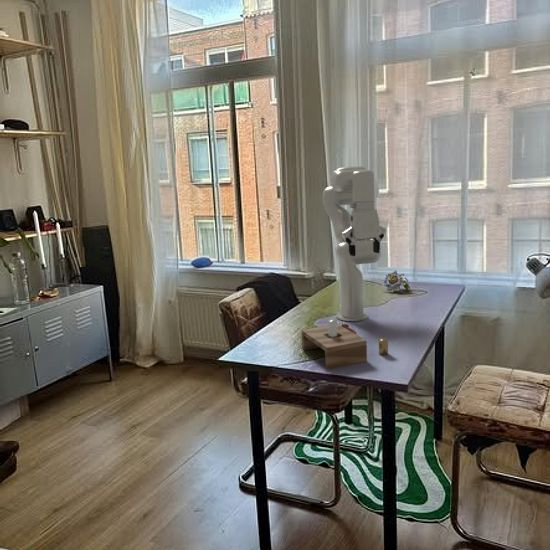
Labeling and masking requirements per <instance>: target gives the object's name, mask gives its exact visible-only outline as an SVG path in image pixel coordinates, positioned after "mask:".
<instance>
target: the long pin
mask: <svg viewBox="0 0 550 550" xmlns="http://www.w3.org/2000/svg"><path fill="white" fill-rule="evenodd" d="M337 321H338V320H337V319H331V318H330V319H328V320H327V326H328V338H335V337H337Z"/></svg>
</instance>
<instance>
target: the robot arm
mask: <svg viewBox="0 0 550 550" xmlns="http://www.w3.org/2000/svg"><path fill="white" fill-rule="evenodd" d="M330 180H331V182H330V183H331V186H328V187H326V188H324V190H323V192H322V204H323V208H324V210H325V212H326V214H327V216H328V217H329V219H330V220H331V223H332V227H333V232H334V236H335V239H336V241H337V243H338V244H337V246H336V248H335V253H336V254H335V255H336V260H337V266H338V277H339V278H338V280H339V281H338V282H339V283H338V285H339V287H338V288H339V305H338V308H339V312H337V313H336V318H337V319H338V320H341V321H343V322H344V321H345V322H359V321H364V320H366V319H367V318H368V313H367V312H365V311H364V278H363V276H364V275H363V273H362V271H361V270H360V269H359V267H357V266H358V265H364V264H376V263H377V262H379V260H380V259H381V242H382V240H383V238H384V237H385V234H386V232H387V229H386V228H385V227H383V226H381V225H380V220H379V219H380V218H379V214H378V213H379V212H378V209H375V206H376V205H375V202H376V201H375V173H374V171H372V170H370V169H367V168H366V167H365V166H359V165H358V166H342V167H339V168H337V169H336V170H334V171H333V172H332V174H331V179H330ZM343 206H349V208H350V209H352V210H351V212H349V211H348V210H347V209H346V208H344V207H343Z"/></svg>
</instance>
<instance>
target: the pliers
mask: <svg viewBox="0 0 550 550" xmlns="http://www.w3.org/2000/svg"><path fill="white" fill-rule="evenodd" d="M337 324H339V325H341V326H342V327H344V328H346V329H348V330H349V331H351V332H353V333H355V334H356V335H358V334H357V332H356V330H354V329H353V328H351V327H350V326H349V324H346V321H343V322H342V323H341V322H339V321H338V320H337Z"/></svg>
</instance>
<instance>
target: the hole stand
mask: <svg viewBox="0 0 550 550" xmlns="http://www.w3.org/2000/svg"><path fill="white" fill-rule="evenodd" d="M356 334H357V333H356ZM356 334H355V333H353V332H351V331H349V330H348V329H346V328H344V327H342V326H341V325H339V324H337V337H335V338H328V325H324V326H319V327H313V328H307V329H302V330H301V346H302V347H301V349H302V351H304V350H305V351H309V350H308V349H310V350H314V349H313V348H316V349H322V350H323V351H324V357H325V359H324V360H325V369H327V370H329V369H334V368H340V367H344V366H350V365H355V364H359V363H364V362H368V355H367V354H368V349H367V348H368V345H367V340H366V339H365V338H363V337H361V336H360V335H358V334H357V335H356ZM319 347H320V348H319Z"/></svg>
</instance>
